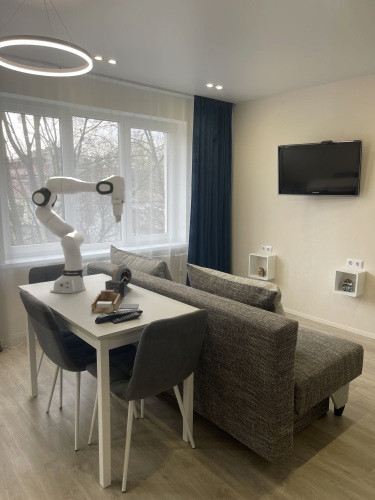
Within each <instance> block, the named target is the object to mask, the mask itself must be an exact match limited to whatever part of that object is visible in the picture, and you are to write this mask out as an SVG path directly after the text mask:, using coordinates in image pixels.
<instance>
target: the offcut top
mask: <svg viewBox="0 0 375 500" xmlns="http://www.w3.org/2000/svg"><path fill="white" fill-rule="evenodd" d="M111 307H112V302H108V301H98V302H97V308H111Z"/></svg>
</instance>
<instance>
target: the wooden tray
mask: <svg viewBox="0 0 375 500" xmlns="http://www.w3.org/2000/svg"><path fill="white" fill-rule="evenodd" d="M98 301H101V292H100V293H98V294H97V296H95V298H94V299H93V301H92V302H91V313H92V314H94V313H97V314H98V313H99V314H100V313H103V314H104V313H107V312H114V311H116V312H117V310H118V308H119V306H120V303H121V299H120V294H114V304H113V307H114V309H96V307H97V302H98ZM107 314H108V313H107Z"/></svg>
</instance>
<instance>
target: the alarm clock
mask: <svg viewBox="0 0 375 500" xmlns="http://www.w3.org/2000/svg"><path fill="white" fill-rule="evenodd" d="M111 272H112V273H111V280H116V281H124V293H127V292H131V291H133V290H134V289H133V288H132V287H130V286H129V284H130V283H131V281H132V278H133V275H132V273H133V272H132V271H131V269H130V268H129V267H128V266H127V265H125V264H119V265H117V266H116V267H115V268H114V269H113V270H112V271H111Z"/></svg>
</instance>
